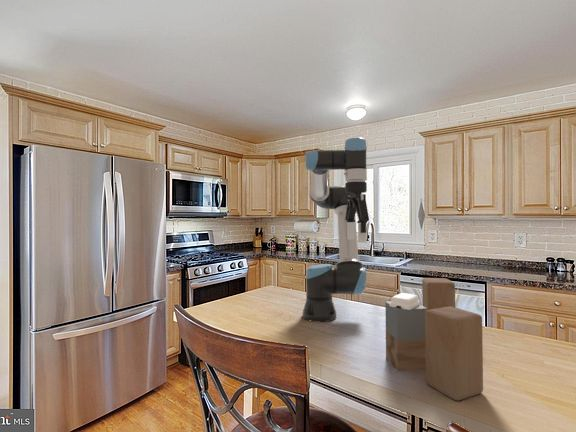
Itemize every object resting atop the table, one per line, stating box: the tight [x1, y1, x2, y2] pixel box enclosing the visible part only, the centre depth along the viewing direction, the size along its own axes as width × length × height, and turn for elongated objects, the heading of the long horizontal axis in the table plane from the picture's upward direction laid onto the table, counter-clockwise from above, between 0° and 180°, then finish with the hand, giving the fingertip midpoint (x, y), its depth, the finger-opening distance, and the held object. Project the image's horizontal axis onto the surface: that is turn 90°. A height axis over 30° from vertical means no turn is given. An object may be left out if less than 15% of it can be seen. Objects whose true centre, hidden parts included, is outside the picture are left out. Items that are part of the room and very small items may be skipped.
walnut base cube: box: [385, 329, 426, 372], centre depth 99 cm, size 9×9×9 cm
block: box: [425, 306, 484, 402], centre depth 84 cm, size 10×10×20 cm
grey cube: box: [385, 300, 427, 340], centre depth 99 cm, size 9×9×9 cm
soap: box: [389, 292, 421, 310], centre depth 99 cm, size 9×7×3 cm
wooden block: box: [421, 277, 456, 310], centre depth 127 cm, size 10×10×20 cm
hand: (356, 240), depth 117 cm, fingers open, 13 cm apart
